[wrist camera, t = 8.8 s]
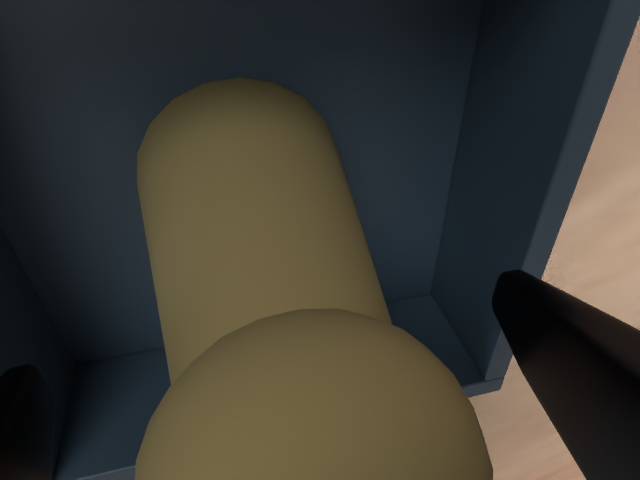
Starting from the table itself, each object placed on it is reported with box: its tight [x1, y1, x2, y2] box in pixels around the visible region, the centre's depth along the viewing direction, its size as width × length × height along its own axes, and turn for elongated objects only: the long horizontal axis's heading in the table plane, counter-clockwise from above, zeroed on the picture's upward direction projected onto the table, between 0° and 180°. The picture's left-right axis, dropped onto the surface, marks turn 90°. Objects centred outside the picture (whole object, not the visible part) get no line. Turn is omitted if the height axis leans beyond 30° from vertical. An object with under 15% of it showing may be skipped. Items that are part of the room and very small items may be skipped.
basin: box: [0, 0, 640, 480], centre depth 13 cm, size 16×16×5 cm
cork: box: [135, 77, 493, 480], centre depth 10 cm, size 6×6×11 cm
